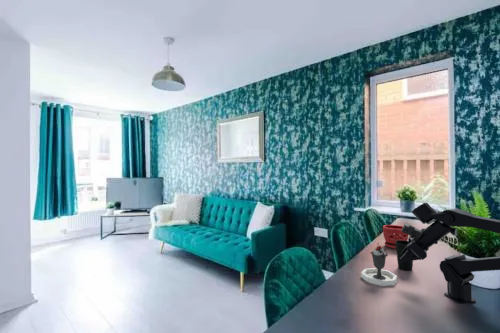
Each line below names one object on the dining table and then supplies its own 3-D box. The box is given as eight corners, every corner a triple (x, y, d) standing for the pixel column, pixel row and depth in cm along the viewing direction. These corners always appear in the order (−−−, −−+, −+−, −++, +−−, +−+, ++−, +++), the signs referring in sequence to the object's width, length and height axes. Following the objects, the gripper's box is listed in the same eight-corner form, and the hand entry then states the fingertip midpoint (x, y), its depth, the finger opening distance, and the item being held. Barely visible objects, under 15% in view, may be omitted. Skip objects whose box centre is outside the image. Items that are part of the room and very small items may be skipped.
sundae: (375, 281, 107) (375, 244, 107) (367, 274, 114) (367, 239, 114) (391, 280, 107) (390, 243, 107) (382, 274, 114) (382, 239, 114)
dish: (403, 284, 105) (403, 279, 105) (373, 286, 103) (373, 281, 103) (384, 272, 118) (383, 267, 118) (356, 273, 116) (356, 269, 116)
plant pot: (413, 250, 147) (413, 228, 147) (390, 250, 147) (390, 229, 147) (400, 243, 160) (400, 223, 160) (379, 243, 160) (378, 224, 160)
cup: (417, 272, 117) (417, 245, 117) (399, 271, 118) (398, 244, 118) (410, 266, 124) (410, 240, 124) (393, 264, 126) (392, 239, 126)
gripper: (415, 213, 111) (386, 236, 117) (414, 221, 95) (381, 247, 101) (438, 234, 106) (408, 257, 112) (442, 246, 91) (406, 272, 97)
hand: (400, 258), depth 106 cm, fingers open, 9 cm apart
